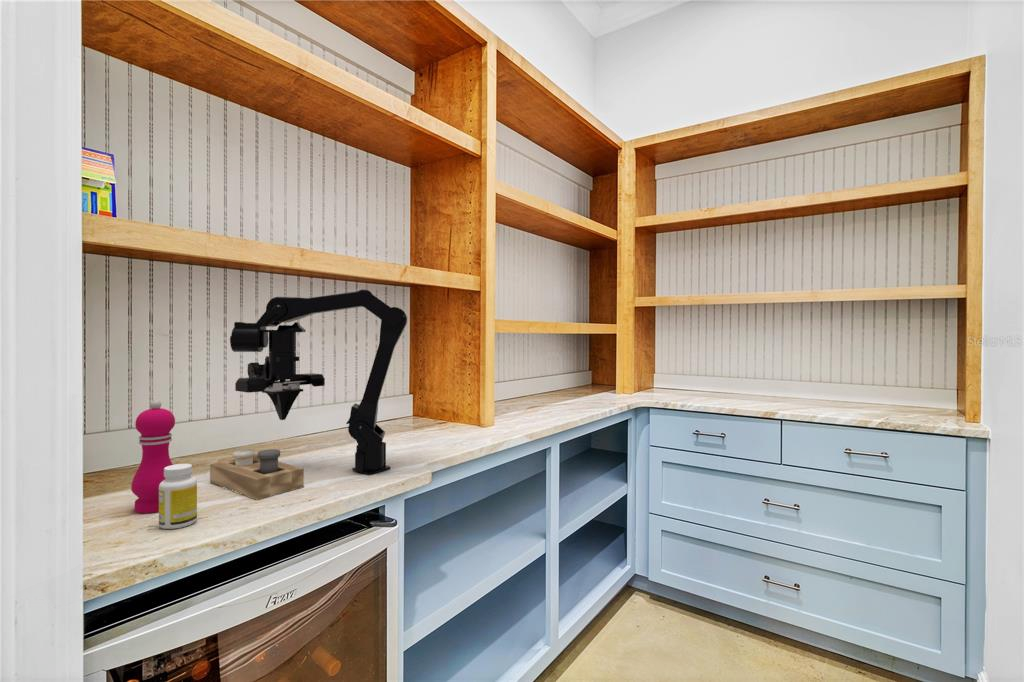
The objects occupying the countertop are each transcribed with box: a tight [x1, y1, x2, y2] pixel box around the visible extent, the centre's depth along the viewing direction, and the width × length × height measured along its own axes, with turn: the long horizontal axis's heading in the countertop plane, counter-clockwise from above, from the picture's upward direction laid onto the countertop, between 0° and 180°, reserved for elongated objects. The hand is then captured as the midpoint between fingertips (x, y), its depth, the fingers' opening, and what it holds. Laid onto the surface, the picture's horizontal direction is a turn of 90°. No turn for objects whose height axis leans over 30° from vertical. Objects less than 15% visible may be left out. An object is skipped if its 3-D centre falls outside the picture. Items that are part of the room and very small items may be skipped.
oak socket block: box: [209, 454, 305, 501], centre depth 106 cm, size 10×19×4 cm, turn 55°
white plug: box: [232, 448, 256, 467], centre depth 109 cm, size 4×4×6 cm
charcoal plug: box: [257, 448, 281, 474], centre depth 103 cm, size 4×4×6 cm
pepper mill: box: [130, 399, 176, 514], centre depth 92 cm, size 7×7×20 cm
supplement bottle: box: [158, 463, 198, 530], centre depth 85 cm, size 5×5×10 cm
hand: (282, 419), depth 115 cm, fingers closed
